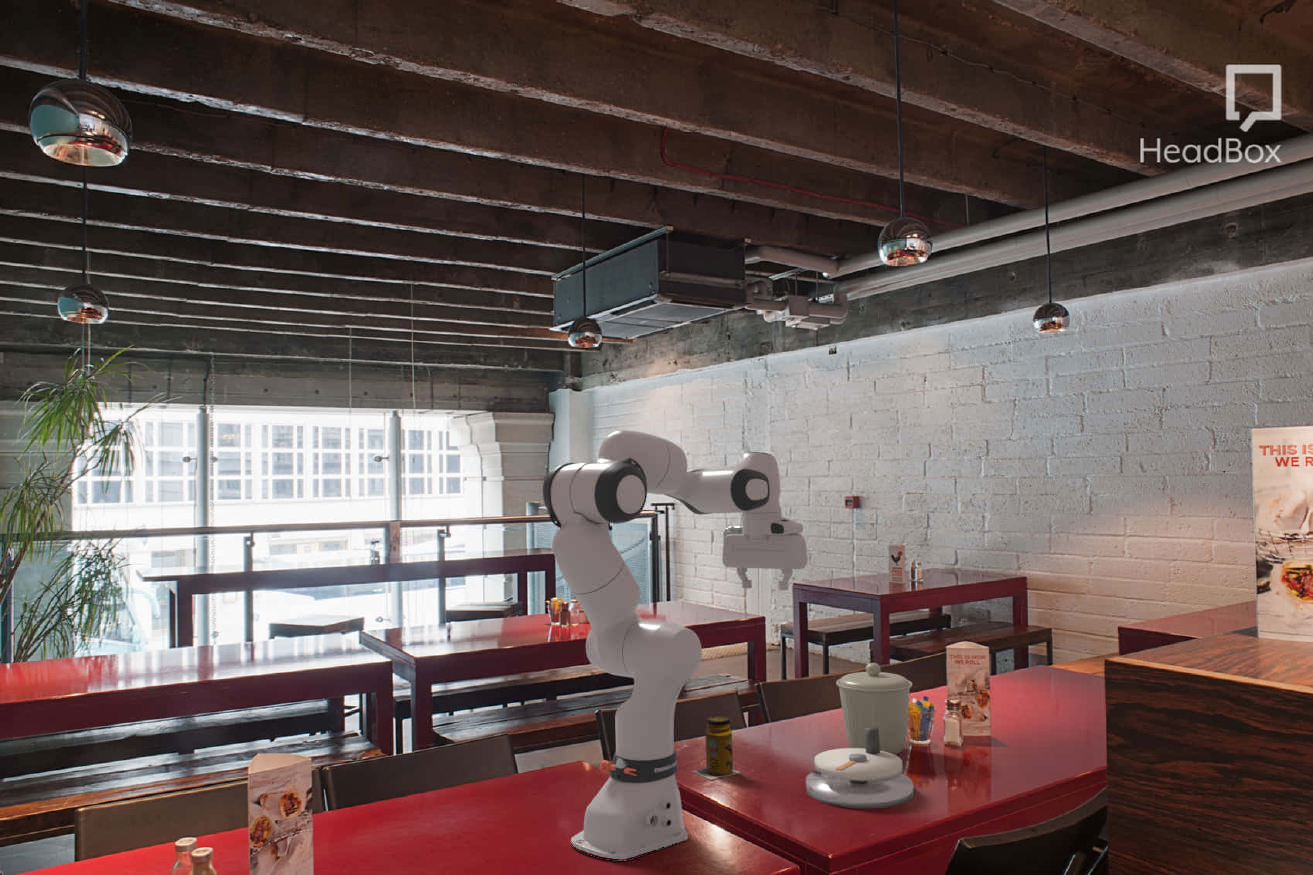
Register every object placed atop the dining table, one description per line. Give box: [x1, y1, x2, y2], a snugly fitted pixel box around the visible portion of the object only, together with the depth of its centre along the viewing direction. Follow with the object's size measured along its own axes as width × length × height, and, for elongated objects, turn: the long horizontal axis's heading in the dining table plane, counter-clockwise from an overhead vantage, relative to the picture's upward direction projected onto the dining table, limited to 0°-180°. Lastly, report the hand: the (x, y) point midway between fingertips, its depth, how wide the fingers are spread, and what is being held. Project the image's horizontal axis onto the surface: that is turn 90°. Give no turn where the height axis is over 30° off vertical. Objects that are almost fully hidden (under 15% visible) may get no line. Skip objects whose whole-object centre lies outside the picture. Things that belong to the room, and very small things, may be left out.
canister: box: [835, 662, 913, 756], centre depth 214 cm, size 18×18×21 cm
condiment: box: [691, 715, 741, 780], centre depth 200 cm, size 7×8×12 cm
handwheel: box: [814, 727, 903, 781], centre depth 185 cm, size 18×18×6 cm
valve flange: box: [805, 769, 915, 810], centre depth 184 cm, size 22×22×4 cm
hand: (765, 589), depth 192 cm, fingers open, 8 cm apart
